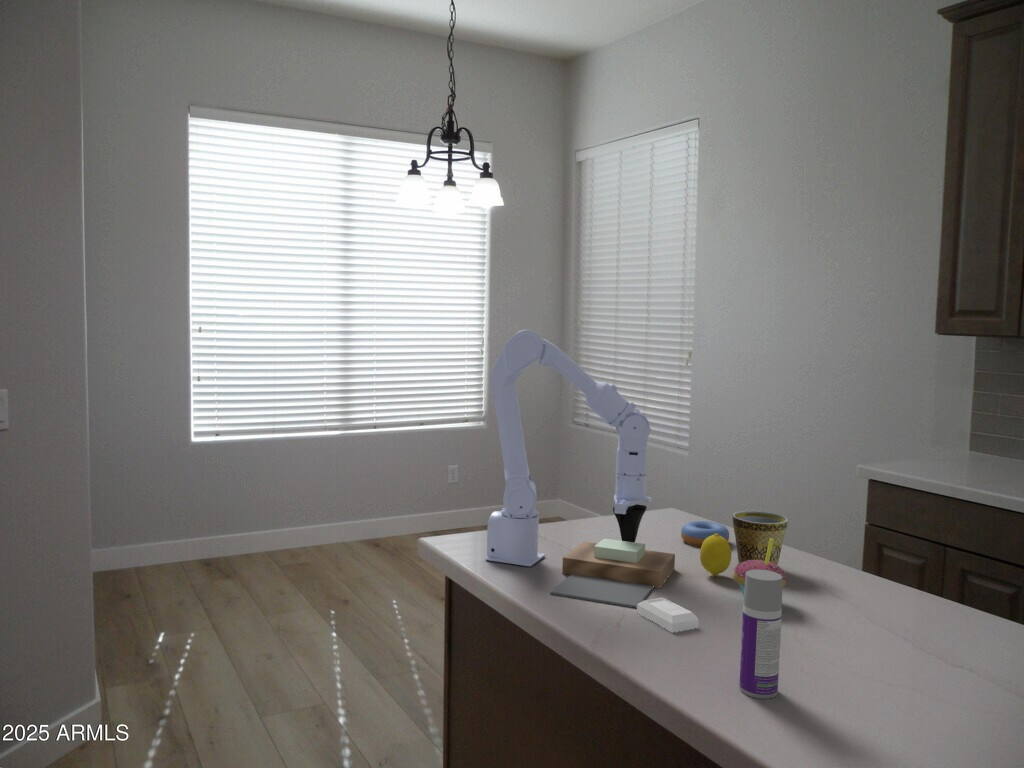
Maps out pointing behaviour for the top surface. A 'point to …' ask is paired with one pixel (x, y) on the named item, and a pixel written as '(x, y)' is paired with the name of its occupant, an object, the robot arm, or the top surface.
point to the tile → (619, 550)
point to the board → (619, 566)
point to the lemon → (715, 554)
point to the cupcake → (757, 568)
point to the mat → (602, 590)
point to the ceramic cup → (758, 534)
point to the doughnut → (702, 532)
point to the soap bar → (667, 614)
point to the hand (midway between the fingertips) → (628, 543)
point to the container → (761, 634)
